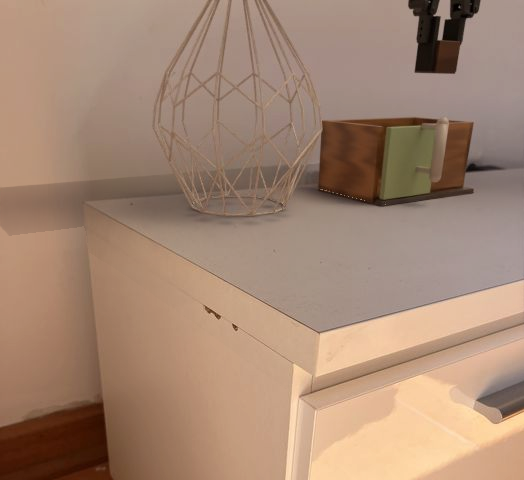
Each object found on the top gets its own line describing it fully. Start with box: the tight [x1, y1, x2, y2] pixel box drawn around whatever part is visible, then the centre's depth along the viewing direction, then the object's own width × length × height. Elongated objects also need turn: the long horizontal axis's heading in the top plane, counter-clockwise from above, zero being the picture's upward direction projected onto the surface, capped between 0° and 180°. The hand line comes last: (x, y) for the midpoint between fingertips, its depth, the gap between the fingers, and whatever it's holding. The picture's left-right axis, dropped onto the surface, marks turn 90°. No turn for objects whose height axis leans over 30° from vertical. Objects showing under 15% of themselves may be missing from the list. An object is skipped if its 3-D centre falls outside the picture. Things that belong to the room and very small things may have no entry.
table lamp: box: [152, 0, 323, 217], centre depth 60 cm, size 22×22×40 cm
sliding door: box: [379, 116, 450, 200], centre depth 69 cm, size 4×8×10 cm, turn 124°
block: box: [414, 39, 461, 75], centre depth 79 cm, size 4×4×4 cm
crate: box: [317, 116, 475, 207], centre depth 77 cm, size 12×18×9 cm
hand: (435, 70), depth 80 cm, fingers closed on block, 4 cm apart
